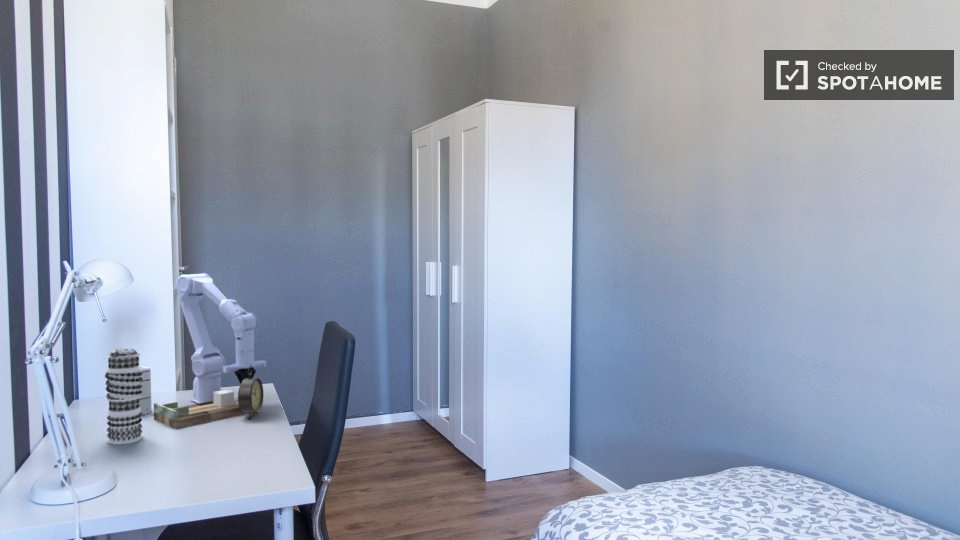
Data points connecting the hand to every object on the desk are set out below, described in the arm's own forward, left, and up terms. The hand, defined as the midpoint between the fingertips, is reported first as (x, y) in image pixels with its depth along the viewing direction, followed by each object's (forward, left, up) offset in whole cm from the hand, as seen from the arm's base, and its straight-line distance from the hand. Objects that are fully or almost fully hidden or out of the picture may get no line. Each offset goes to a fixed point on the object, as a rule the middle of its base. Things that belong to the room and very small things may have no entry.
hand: (245, 391), depth 218 cm
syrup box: (-18, -27, -6) cm, 33 cm away
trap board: (0, -15, -5) cm, 15 cm away
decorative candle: (+7, -41, -6) cm, 41 cm away
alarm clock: (+10, -5, -6) cm, 13 cm away
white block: (0, -8, -3) cm, 8 cm away
